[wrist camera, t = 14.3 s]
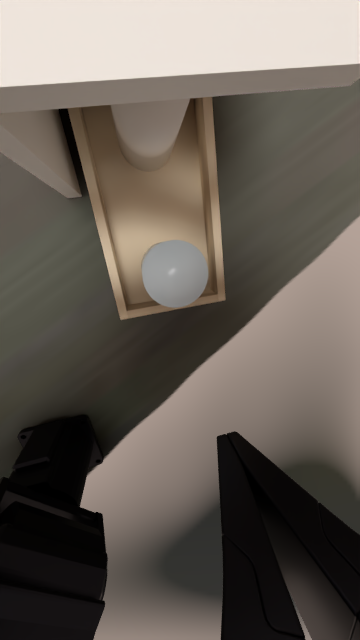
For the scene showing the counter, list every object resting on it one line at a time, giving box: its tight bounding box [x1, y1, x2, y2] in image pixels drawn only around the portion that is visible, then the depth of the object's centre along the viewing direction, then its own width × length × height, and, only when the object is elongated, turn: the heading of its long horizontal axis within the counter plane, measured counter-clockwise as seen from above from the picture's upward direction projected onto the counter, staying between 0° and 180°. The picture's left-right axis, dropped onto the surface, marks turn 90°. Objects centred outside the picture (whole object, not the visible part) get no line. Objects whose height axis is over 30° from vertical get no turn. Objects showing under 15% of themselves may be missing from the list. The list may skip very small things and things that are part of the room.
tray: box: [68, 97, 226, 320], centre depth 16 cm, size 15×9×2 cm, turn 8°
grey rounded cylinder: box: [141, 240, 208, 308], centre depth 15 cm, size 4×4×6 cm
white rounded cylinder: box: [111, 98, 190, 172], centre depth 12 cm, size 4×4×6 cm
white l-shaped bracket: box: [0, 0, 360, 198], centre depth 10 cm, size 8×12×12 cm, turn 99°
